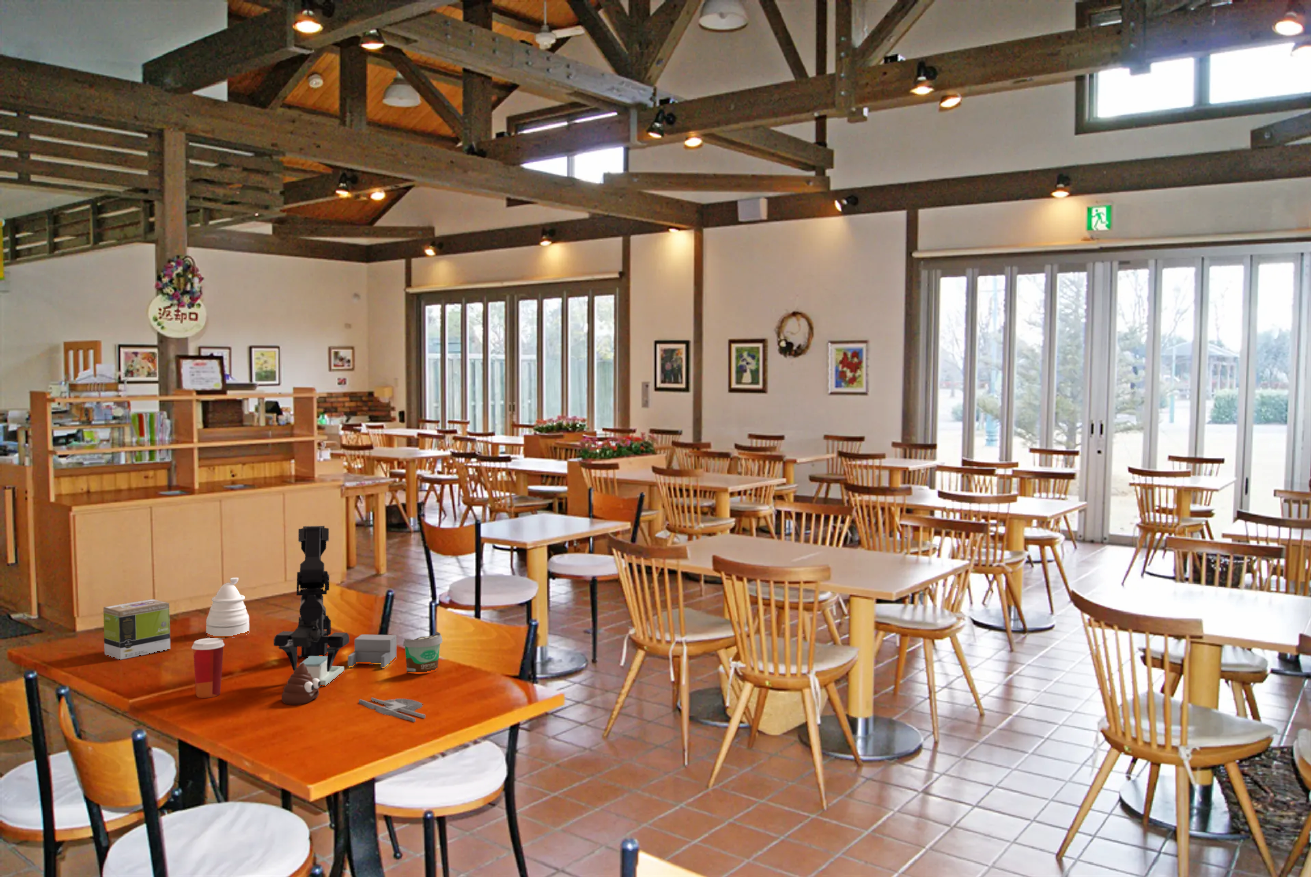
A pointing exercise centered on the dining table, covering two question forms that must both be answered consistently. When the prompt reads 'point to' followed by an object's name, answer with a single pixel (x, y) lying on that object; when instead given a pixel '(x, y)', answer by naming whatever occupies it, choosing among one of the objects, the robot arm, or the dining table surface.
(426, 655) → the food container
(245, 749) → the dining table surface
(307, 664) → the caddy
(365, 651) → the bay
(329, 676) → the tray
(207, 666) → the paper cup
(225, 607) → the honey pot
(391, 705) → the grey toy spaceship
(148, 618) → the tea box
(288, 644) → the robot arm
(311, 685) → the poop emoji
